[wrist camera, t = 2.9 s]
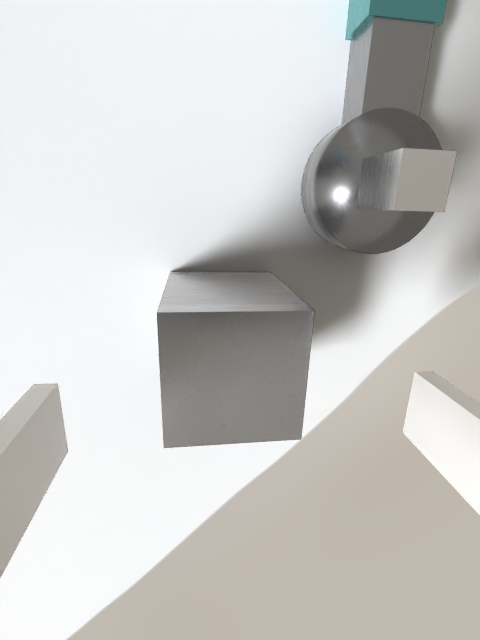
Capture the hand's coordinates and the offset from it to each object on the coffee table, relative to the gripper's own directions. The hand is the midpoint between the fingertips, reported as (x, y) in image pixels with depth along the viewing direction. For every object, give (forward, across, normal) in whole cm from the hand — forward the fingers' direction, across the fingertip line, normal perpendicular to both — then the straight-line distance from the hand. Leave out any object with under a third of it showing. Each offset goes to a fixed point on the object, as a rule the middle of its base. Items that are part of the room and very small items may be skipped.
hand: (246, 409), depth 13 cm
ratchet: (+9, +8, +16) cm, 20 cm away
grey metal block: (+9, 0, 0) cm, 9 cm away
